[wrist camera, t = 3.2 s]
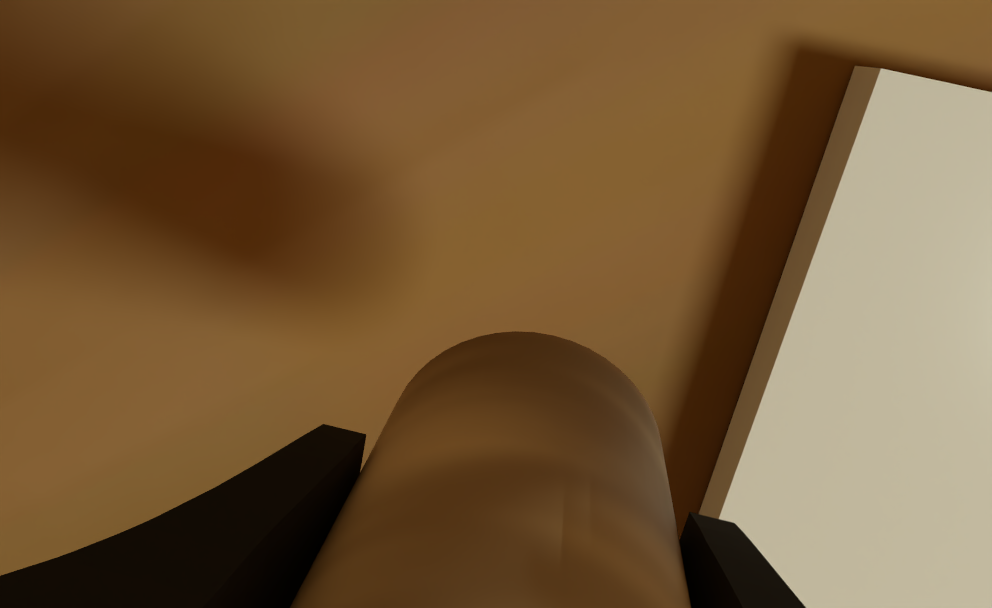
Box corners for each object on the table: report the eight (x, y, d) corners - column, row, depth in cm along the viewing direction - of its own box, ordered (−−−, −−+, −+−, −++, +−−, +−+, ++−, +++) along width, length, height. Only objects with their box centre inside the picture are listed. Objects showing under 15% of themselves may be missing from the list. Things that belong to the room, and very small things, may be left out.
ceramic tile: (1449, 194, 15) (1536, 209, 14) (1019, 867, 22) (1049, 923, 21) (855, 65, 16) (881, 68, 14) (611, 764, 23) (612, 812, 21)
